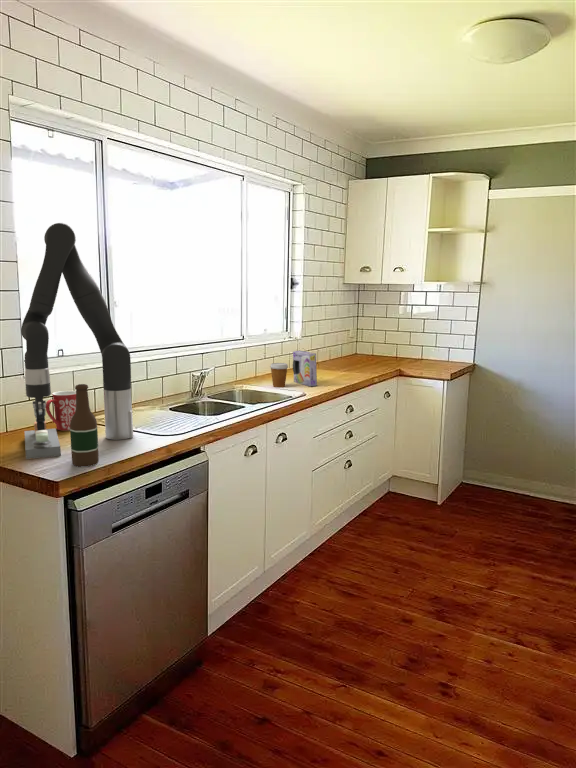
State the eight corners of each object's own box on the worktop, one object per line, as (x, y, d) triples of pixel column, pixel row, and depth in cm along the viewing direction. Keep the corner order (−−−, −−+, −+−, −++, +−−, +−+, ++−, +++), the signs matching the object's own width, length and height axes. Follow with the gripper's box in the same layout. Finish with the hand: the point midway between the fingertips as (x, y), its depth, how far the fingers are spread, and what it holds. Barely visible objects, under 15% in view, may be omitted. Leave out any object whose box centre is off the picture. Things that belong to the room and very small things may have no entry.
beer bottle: (82, 458, 182) (78, 382, 178) (104, 460, 180) (100, 383, 176) (66, 465, 175) (61, 386, 171) (88, 468, 173) (84, 387, 169)
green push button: (48, 438, 186) (48, 432, 186) (48, 441, 183) (48, 435, 183) (36, 440, 185) (35, 433, 185) (36, 442, 182) (35, 436, 181)
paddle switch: (46, 430, 202) (45, 420, 201) (46, 432, 200) (46, 422, 199) (34, 431, 200) (34, 421, 200) (35, 433, 198) (34, 423, 197)
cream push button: (47, 435, 190) (47, 429, 190) (48, 438, 187) (47, 432, 187) (35, 436, 189) (35, 430, 189) (36, 439, 186) (35, 433, 185)
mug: (70, 424, 226) (68, 389, 223) (85, 427, 221) (83, 392, 218) (40, 430, 215) (37, 394, 213) (55, 434, 210) (52, 397, 208)
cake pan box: (291, 381, 327) (292, 350, 324) (299, 381, 329) (300, 349, 326) (309, 387, 310) (309, 353, 307) (317, 386, 313) (317, 353, 310)
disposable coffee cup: (281, 388, 305) (281, 365, 303) (266, 386, 310) (266, 364, 308) (291, 386, 313) (291, 363, 311) (276, 384, 318) (276, 362, 316)
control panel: (56, 436, 208) (55, 428, 207) (61, 456, 185) (60, 446, 184) (25, 439, 203) (24, 430, 203) (26, 459, 180) (25, 450, 180)
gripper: (51, 384, 189) (54, 436, 192) (48, 378, 201) (51, 427, 204) (25, 385, 186) (29, 439, 189) (24, 379, 198) (28, 429, 201)
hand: (41, 432), depth 197 cm, fingers closed
